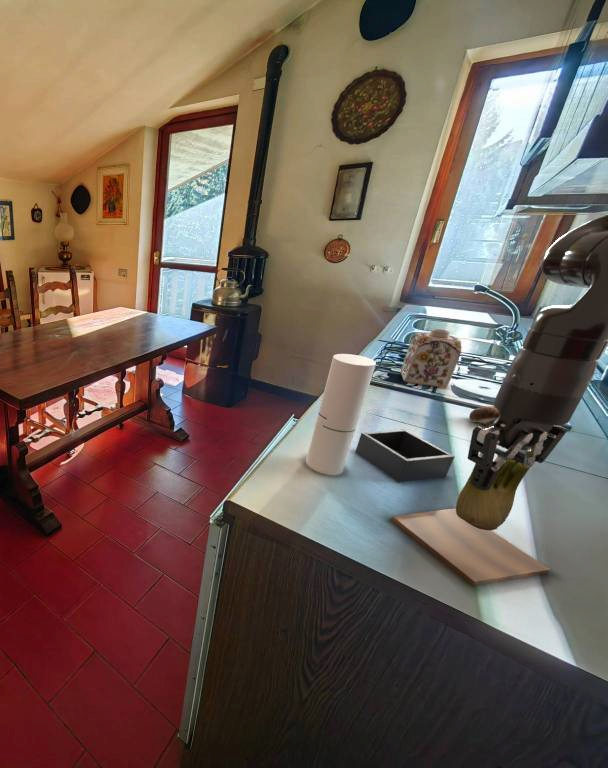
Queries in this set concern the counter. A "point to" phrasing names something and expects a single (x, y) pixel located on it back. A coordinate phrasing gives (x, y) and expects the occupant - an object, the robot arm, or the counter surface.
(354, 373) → the cylindrical container
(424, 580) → the counter surface
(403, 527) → the board
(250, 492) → the counter surface
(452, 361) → the decorative jar
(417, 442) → the bin
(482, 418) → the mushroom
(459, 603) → the counter surface
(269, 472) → the counter surface
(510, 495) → the fennel bulb
